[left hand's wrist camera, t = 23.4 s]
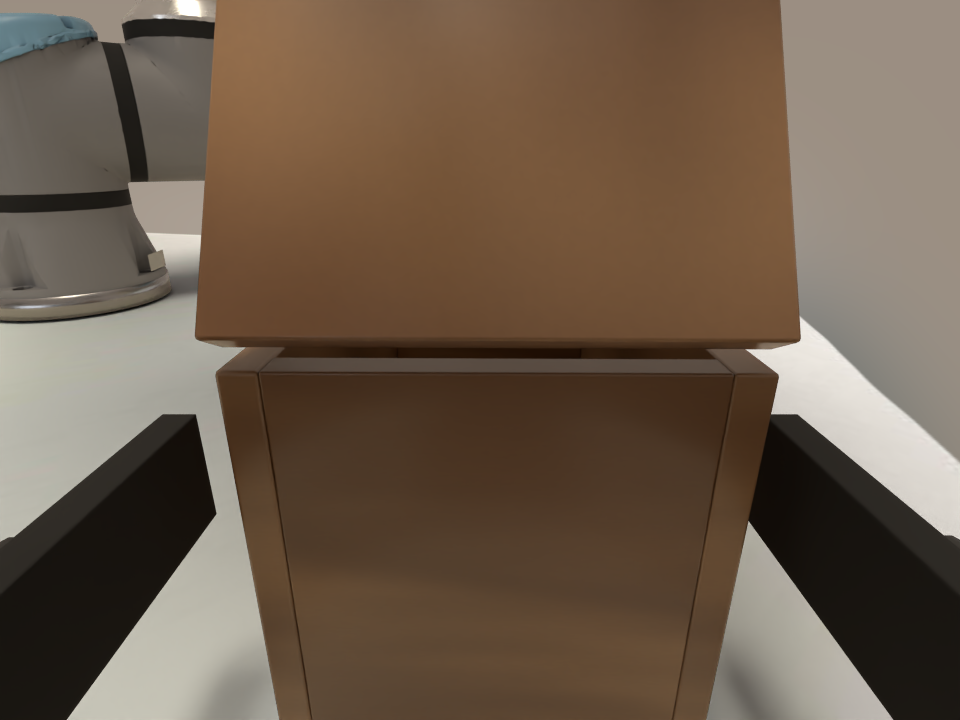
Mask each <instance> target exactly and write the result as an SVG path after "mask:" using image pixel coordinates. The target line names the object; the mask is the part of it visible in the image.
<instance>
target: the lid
mask: <svg viewBox="0 0 960 720" xmlns="http://www.w3.org/2000/svg"><path fill="white" fill-rule="evenodd" d="M195 338H196V339H197V340H199V341H203V342H206V343H210V344H213V345H217V346H220V347H319V348H571V349H774V348H778V347H782V346H786V345H790V344H794V343H797V342H799V341H800V339H801V334H800V318H799V302H798V285H797V269H796V253H795V236H794V220H793V204H792V187H791V171H790V154H789V138H788V122H787V105H786V89H785V72H784V56H783V40H782V23H781V7H780V0H216V15H215V30H214V46H213V62H212V77H211V93H210V108H209V124H208V140H207V155H206V171H205V187H204V202H203V218H202V234H201V249H200V265H199V280H198V296H197V312H196V327H195Z"/></svg>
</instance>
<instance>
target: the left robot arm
mask: <svg viewBox="0 0 960 720" xmlns="http://www.w3.org/2000/svg"><path fill="white" fill-rule="evenodd" d="M215 515H216V509H215V504H214V500H213V495H212V490H211V485H210V480H209V476H208V471H207V466H206V461H205V456H204V451H203V447H202V442H201V437H200V432H199V427H198V423H197V418H196V414H163V415H161V416H160V417H159V418H158V419H157V420H155V421H154V422H153V423H152V424H151V425H149V426H148V427H147V428H146V429H144V430H143V431H142V432H141V433H140V434H138V435H137V436H136V437H135V438H134V439H132V440H131V441H130V442H129V443H128V444H126V445H125V446H124V447H123V448H121V449H120V450H119V451H118V452H117V453H115V454H114V455H113V456H112V457H111V458H109V459H108V460H107V461H106V462H105V463H103V464H102V465H101V466H100V467H98V468H97V469H96V470H95V471H94V472H92V473H91V474H90V475H89V476H88V477H86V478H85V479H84V480H83V481H82V482H80V483H79V484H78V485H77V486H75V487H74V488H73V489H72V490H71V491H69V492H68V493H67V494H66V495H65V496H63V497H62V498H61V499H60V500H59V501H57V502H56V503H55V504H54V505H53V506H51V507H50V508H49V509H48V510H46V511H45V512H44V513H43V514H42V515H40V516H39V517H38V518H37V519H36V520H34V521H33V522H32V523H31V524H30V525H28V526H27V527H26V528H25V529H23V530H22V531H21V532H20V533H19V534H17V535H16V536H15V537H9V538H7V539H5V540H3V541H1V542H0V720H67V718H68V717H69V716H70V714H71V713H72V712H73V710H74V709H75V707H76V706H77V705H78V703H79V702H80V701H81V699H82V698H83V696H84V695H85V694H86V692H87V691H88V690H89V688H90V687H91V685H92V684H93V683H94V681H95V680H96V679H97V677H98V676H99V675H100V673H101V672H102V670H103V669H104V668H105V666H106V665H107V664H108V662H109V661H110V659H111V658H112V657H113V655H114V654H115V653H116V651H117V650H118V648H119V647H120V646H121V644H122V643H123V642H124V640H125V639H126V637H127V636H128V635H129V633H130V632H131V631H132V629H133V628H134V626H135V625H136V624H137V622H138V621H139V620H140V618H141V617H142V615H143V614H144V613H145V611H146V610H147V609H148V607H149V606H150V605H151V603H152V602H153V600H154V599H155V598H156V596H157V595H158V594H159V592H160V591H161V589H162V588H163V587H164V585H165V584H166V583H167V581H168V580H169V578H170V577H171V576H172V574H173V573H174V572H175V570H176V569H177V567H178V566H179V565H180V563H181V562H182V561H183V559H184V558H185V556H186V555H187V554H188V552H189V551H190V550H191V548H192V547H193V545H194V544H195V543H196V541H197V540H198V539H199V537H200V536H201V534H202V533H203V532H204V530H205V529H206V528H207V526H208V525H209V524H210V522H211V521H212V519H213V518H214V517H215ZM748 521H749V522H750V524H751V525H752V526H753V528H754V529H755V530H756V532H757V533H758V534H759V536H760V537H761V539H762V540H763V541H764V543H765V544H766V545H767V547H768V548H769V550H770V551H771V552H772V554H773V555H774V556H775V558H776V559H777V561H778V562H779V563H780V565H781V566H782V567H783V569H784V570H785V572H786V573H787V574H788V576H789V577H790V578H791V580H792V581H793V583H794V584H795V585H796V587H797V588H798V589H799V591H800V592H801V594H802V595H803V596H804V598H805V599H806V600H807V602H808V603H809V605H810V606H811V607H812V609H813V610H814V611H815V613H816V614H817V615H818V617H819V618H820V620H821V621H822V622H823V624H824V625H825V626H826V628H827V629H828V631H829V632H830V633H831V635H832V636H833V637H834V639H835V640H836V642H837V643H838V644H839V646H840V647H841V648H842V650H843V651H844V653H845V654H846V655H847V657H848V658H849V659H850V661H851V662H852V664H853V665H854V666H855V668H856V669H857V670H858V672H859V673H860V675H861V676H862V677H863V679H864V680H865V681H866V683H867V684H868V685H869V687H870V688H871V690H872V691H873V692H874V694H875V695H876V696H877V698H878V699H879V701H880V702H881V703H882V705H883V706H884V707H885V709H886V710H887V712H888V713H889V714H890V716H891V717H892V718H893V720H960V540H959V539H957V538H956V537H954V536H944V535H943V534H941V533H940V532H939V531H938V530H937V529H935V528H934V527H933V526H932V525H930V524H929V523H928V522H927V521H926V520H924V519H923V518H922V517H921V516H920V515H918V514H917V513H916V512H915V511H914V510H912V509H911V508H910V507H909V506H907V505H906V504H905V503H904V502H903V501H901V500H900V499H899V498H898V497H897V496H895V495H894V494H893V493H892V492H891V491H889V490H888V489H887V488H886V487H884V486H883V485H882V484H881V483H880V482H878V481H877V480H876V479H875V478H874V477H872V476H871V475H870V474H869V473H868V472H866V471H865V470H864V469H863V468H862V467H860V466H859V465H858V464H857V463H855V462H854V461H853V460H852V459H851V458H849V457H848V456H847V455H846V454H845V453H843V452H842V451H841V450H840V449H839V448H837V447H836V446H835V445H834V444H832V443H831V442H830V441H829V440H828V439H826V438H825V437H824V436H823V435H822V434H820V433H819V432H818V431H817V430H816V429H814V428H813V427H812V426H811V425H809V424H808V423H807V422H806V421H805V420H803V419H802V418H801V417H800V416H799V415H797V414H771V416H770V421H769V426H768V431H767V435H766V440H765V445H764V449H763V454H762V459H761V464H760V468H759V473H758V478H757V482H756V487H755V492H754V496H753V501H752V506H751V511H750V515H749V520H748Z"/></svg>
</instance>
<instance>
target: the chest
mask: <svg viewBox="0 0 960 720" xmlns="http://www.w3.org/2000/svg"><path fill="white" fill-rule="evenodd" d="M778 379H779V375H778V374H777V373H776V372H774V371H773V370H772V369H770V368H769V367H768V366H767V365H765V364H764V363H763V362H761V361H760V360H759V359H757V358H756V357H755V356H753V355H752V354H751V353H749V352H748V351H747V350H745V349H571V348H319V347H246V348H245V349H244V350H243V351H241V352H240V353H239V354H238V355H236V356H235V357H234V358H233V359H231V360H230V361H229V362H228V363H226V364H225V365H224V366H223V367H222V368H220V369H219V370H218V371H217V372H216V382H217V387H218V392H219V398H220V403H221V408H222V414H223V419H224V425H225V430H226V435H227V441H228V446H229V451H230V457H231V462H232V468H233V473H234V478H235V484H236V489H237V494H238V500H239V505H240V510H241V516H242V521H243V527H244V532H245V537H246V543H247V548H248V553H249V559H250V564H251V570H252V575H253V580H254V586H255V591H256V596H257V602H258V607H259V613H260V618H261V623H262V629H263V634H264V639H265V645H266V650H267V655H268V661H269V666H270V672H271V677H272V682H273V688H274V693H275V698H276V704H277V709H278V715H279V720H706V718H707V713H708V708H709V704H710V699H711V694H712V689H713V685H714V680H715V675H716V671H717V666H718V661H719V656H720V652H721V647H722V642H723V638H724V633H725V628H726V624H727V619H728V614H729V609H730V605H731V600H732V595H733V591H734V586H735V581H736V576H737V572H738V567H739V562H740V558H741V553H742V548H743V544H744V539H745V534H746V529H747V525H748V520H749V515H750V511H751V506H752V501H753V496H754V492H755V487H756V482H757V478H758V473H759V468H760V464H761V459H762V454H763V449H764V445H765V440H766V435H767V431H768V426H769V421H770V416H771V412H772V407H773V402H774V398H775V393H776V388H777V383H778Z"/></svg>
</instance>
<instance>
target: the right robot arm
mask: <svg viewBox="0 0 960 720" xmlns="http://www.w3.org/2000/svg"><path fill="white" fill-rule="evenodd" d="M215 15H216V0H136V3H135V5H134V6H133V7H132V8H131V10H130V11H129V12H128V13H127V14H126V15H125V17H124V18H123V19H122V20H121V22H122V28H123V33H124V38H125V44H123V43H108V42H99V41H98V36H97V33H96V32H95V31H94V30H93V28H92V26H91V25H90V24H89V23H88V22H87V21H85V20H83V19H80V18H76V17H71V16H56V15H53V14H41V13H0V320H5V321H36V320H52V319H63V318H73V317H81V316H88V315H95V314H101V313H107V312H112V311H117V310H122V309H127V308H131V307H135V306H139V305H142V304H146V303H149V302H152V301H155V300H157V299H159V298H162V297H164V296H165V295H167V294H168V293H169V292H170V291H171V283H170V279H169V274H168V270H167V269H166V267H165V265H166V264H165V259H164V255H163V250H160V251H158V252H156V250H155V248H154V247H153V245H152V243H151V242H150V240H149V238H148V236H147V235H146V233H145V231H144V230H143V228H142V226H141V224H140V223H139V221H138V219H137V218H136V216H135V213H134V210H133V206H132V202H131V198H130V193H129V188H128V183H129V182H158V181H205V171H206V155H207V140H208V124H209V108H210V93H211V77H212V62H213V46H214V30H215Z"/></svg>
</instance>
